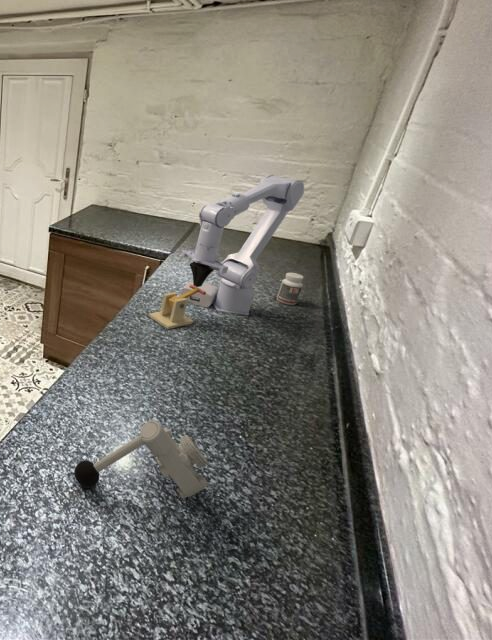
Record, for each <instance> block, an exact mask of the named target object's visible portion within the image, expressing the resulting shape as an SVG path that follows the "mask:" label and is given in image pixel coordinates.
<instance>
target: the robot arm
mask: <svg viewBox="0 0 492 640" xmlns="http://www.w3.org/2000/svg"><path fill="white" fill-rule="evenodd" d="M304 194H305V184H304V182H303V180H302V179H301V180H300V179H293V178H287V177H282V176H277V175H273V174H268V175H266V176H264V177H262V178H261V179H260V181H259V183H258V184H257V185H255V186H254V187H252V188H250V189H249V190H247V191H246V192H244V193H241V192H233V193H232V194H231V195H230V196H228V197H226V198H223V199H221V200H219V201H217V202H216V203H214V202H213V203H212V202H211V203H208V204H205V205H204V206H202V208H201V209H200V211H199V212H198V218H199V226H200V230H199V233H198V237H197V242H196V246H195V249H194V251H193V250H189V249H183V250H182V252H181V257H184V258H188V259H189V260H191V261H192V262H190V263H189V267H190V270H191V273H192V281H193V285H194V286H196V287H200V286H202V284H203V283H205V281H206V280H207V278H208V277H209V276H210V275H211V273H212V272H214V271H215V272H216V274H217V276H218V277H219V278H218V280H219V281H220V282H219V286H218V293H217V296H216V300H215V301H214V302H213V303H212V304H211V305H212V306H213V307H214V309H215V310H216V311H217V312H221V313H229V314H235V315H242V316H243V315H245V316H250V313H249V312H250V310H251V306H252V303H253V300H254V296H255V290H254V287H253V285H254V284H255V283H256V281H257V278H258V275H259V273H260V271H261V267H260V266H259V264H258V261H257V260H258V258H259V256H260V255H261V253H262V252H263V250H264V249H265V247H266V246H267V244H268V243H269V241H270V240H271V239H272V237H273V236H274V234H275V233H276V231H277V230H278V228H279V227H280V225H281V224H282V222H283V221H284V219H285V218H286V217H287V215H288V214H289V212H291V211H293V210H294V209H295V207H296V206H297V205H298V203H299V201H301V199H302V197H303V196H304ZM261 200H262V203H263V204H264V205H265V206H266V211H264V213H263V215H262V216H261V218H260V219H259V220H258V221H257V224H256V225H255V227H254V229H253V230H252V231H251V232H250V235H249V236H248V237H247V239H246V240H245V242H244V243H243V245H242V247H241V248H240V249H239V251H238V252H235V253H231V254H228V255H227V256H226V257H225V258H224V260H222V262H220V261H219V260H218V259H217V256H218V251H219V247H220V245H221V240H222V237H223V233H224V229H225V227H227V226H228V225H229V224H230V222H231V221H232V220H234V218H235V217H236V216H238V215H241V214H242V213H244V212H245V211H248V209H249V208H250V205H251V204H253V203H256V202H259V201H261Z"/></svg>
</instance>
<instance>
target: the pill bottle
mask: <svg viewBox="0 0 492 640" xmlns="http://www.w3.org/2000/svg"><path fill="white" fill-rule="evenodd" d="M304 277H305V276H303V275H302V274H300V273H297V272H286V274H285V278H283V279H282V281H281V283H280V285H279V289H278V292H277V294H276V300H277V301H278V302H279V303H281V304H285V305H288V306H289V305H290V306H295V305H296V304H297V302H298V300H299V298H300V294H301V292H302V290H303V289H302V288H303V283H302V282H303V280H304Z"/></svg>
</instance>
